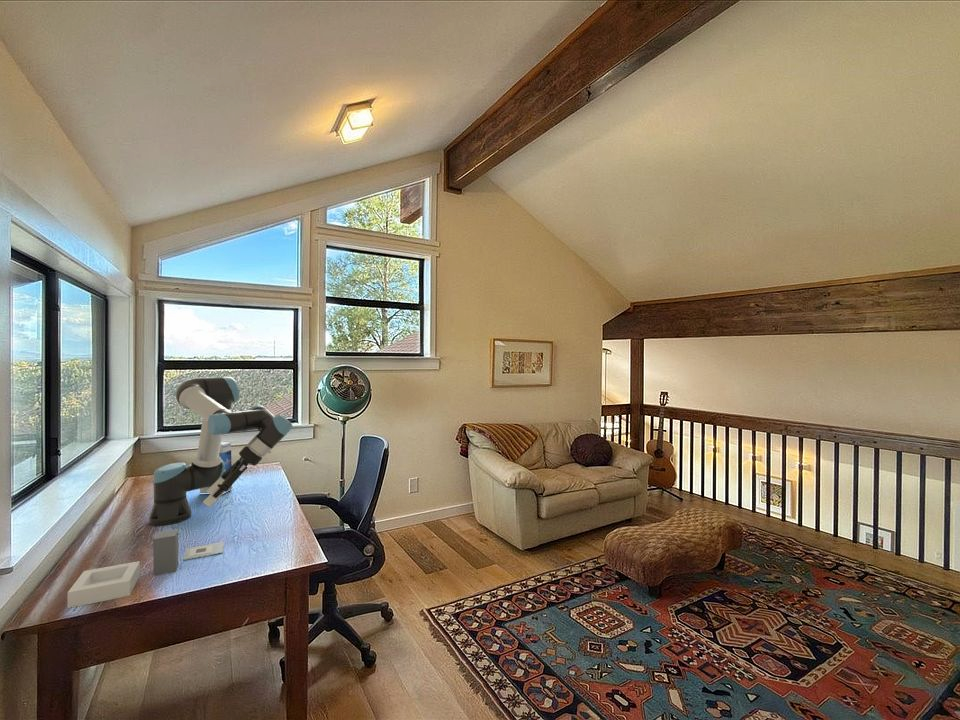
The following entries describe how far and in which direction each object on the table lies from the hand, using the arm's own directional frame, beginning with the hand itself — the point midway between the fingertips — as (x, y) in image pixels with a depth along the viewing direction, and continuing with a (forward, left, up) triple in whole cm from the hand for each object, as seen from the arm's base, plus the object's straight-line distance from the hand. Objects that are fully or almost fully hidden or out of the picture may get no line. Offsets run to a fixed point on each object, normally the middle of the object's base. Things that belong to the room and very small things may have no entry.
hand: (207, 498), depth 154 cm
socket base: (+10, -26, -21) cm, 35 cm away
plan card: (-7, -2, -21) cm, 22 cm away
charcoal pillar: (+3, -12, -21) cm, 24 cm away
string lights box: (-84, -3, -21) cm, 87 cm away
